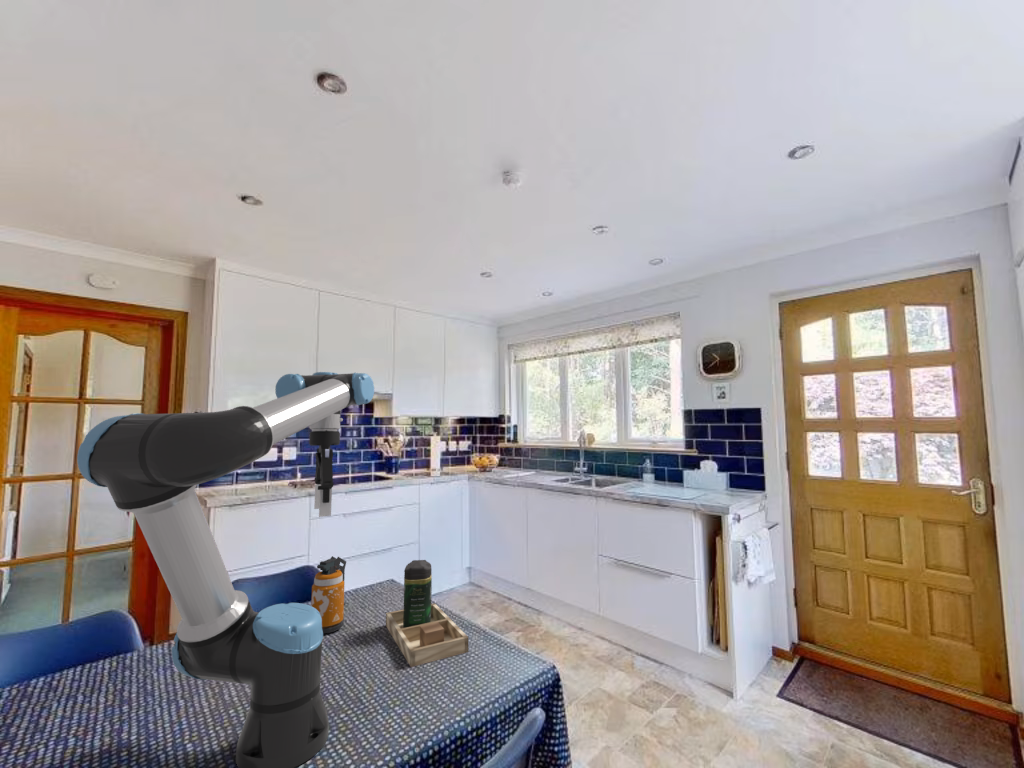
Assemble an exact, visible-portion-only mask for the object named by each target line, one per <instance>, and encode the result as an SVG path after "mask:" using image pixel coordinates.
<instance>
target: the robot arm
mask: <svg viewBox="0 0 1024 768" xmlns="http://www.w3.org/2000/svg"><path fill="white" fill-rule="evenodd" d="M274 391H275V397H276V398H275V399H272V400H269V401H267V402H264V403H262V404H259V405H257V406H254V407H252V406H248V405H241V406H237V407H234V408H230V409H227V410H221V411H211V412H209V411H207V412H181V413H180V412H179V413H176V412H175V413H141V412H140V413H130V414H128V415H127V414H126V415H117V416H113V417H110V418H107V419H105V420H103V421H101V422H99V423H97V424H96V425H95V426H93V427H92V429H90V430H89V431H88V432H87V433H86V435H85V437H84V439H83V441H82V442H81V444H80V445H79V447H78V450H77V457H76V461H77V463H76V464H77V468H78V471H79V472H80V474H81V476H82V477H83V478H84V479H85V480H86V481H87V482H89V483H91V484H93V485H95V486H97V487H102V488H107V490H108V491H109V493H110V495H111V498H112V500H113V502H114V504H115V506H116V508H117V510H120V511H123V512H128V513H132V514H133V515H134V516H135V519H136V521H137V524H138V526H139V528H140V530H141V532H142V534H143V537H144V539H145V541H146V543H147V546H148V548H149V550H150V552H151V554H152V556H153V559H154V561H155V562H156V565H157V567H158V568H159V571H160V574H161V576H162V578H163V580H164V583H165V585H166V587H167V589H168V591H169V593H170V595H171V598H172V600H173V602H174V604H175V606H176V609H177V611H178V613H179V616H180V618H181V620H180V621H179V622H178V624H177V628H176V634H175V636H174V638H173V642H175V644H174V645H173V646H171V659H172V662H173V664H174V666H175V669H176V670H177V671H178V672H179V673H180V674H182V675H184V676H187V677H190V678H192V679H195V680H202V681H207V680H208V681H214V682H215V681H216V682H217V681H219V682H226V683H235V684H244V685H249V686H250V698H249V700H250V701H249V709H248V713H247V715H246V718H245V721H244V724H243V727H242V729H241V731H240V734H239V737H238V740H237V743H236V750H235V764H237V765H236V767H237V766H238V767H239V768H296V767H298V766H300V765H301V764H305V762H307V761H308V760H310V759H311V758H313V757H314V756H315V755H317V754H318V753H319V752H320V751H321V749H322V748H323V747H324V746H325V744H326V743H327V741H328V738H329V733H330V731H329V727H330V721H329V716H328V713H327V710H326V706H325V704H324V700H323V697H322V694H321V693H322V692H321V677H322V676H321V673H322V672H321V671H322V654H323V653H322V650H323V649H322V648H323V638H324V634H323V631H322V618H321V616H320V613H319V611H318V610H317V609H315V608H314V607H312V606H311V605H309V604H306V603H301V602H300V603H299V602H288V603H285V602H283V603H276V604H273V605H269V606H266V607H265V608H263V609H261V610H260V611H254V609H253V607H252V604H251V602H250V600H249V597H248V595H247V594H246V593H245V592H244V591H242V590H239V589H238V590H236V589H235V588H234V585H233V583H232V580H231V578H230V575H229V573H228V570H227V568H226V565H225V562H224V560H223V558H222V555H221V554H220V553H221V552H220V550H219V548H218V545H217V543H216V540H215V537H214V535H213V532H212V531H211V528H210V525H209V523H208V520H207V518H206V515H205V513H204V509H203V508H202V505H201V502H200V500H199V498H198V495H197V493H196V490H195V489H196V488H197V485H200V484H204V483H207V482H210V481H213V480H216V479H218V478H221V477H224V476H225V475H228V474H231V473H233V472H235V471H237V470H238V469H239V470H240V469H241V468H243V467H245V466H247V465H249V464H251V463H254V462H255V461H257V460H259V459H261V458H262V457H264V456H266V455H267V454H268V453H269V452H270V451H271V449H272V448H273V445H275V444H277V443H280V442H281V441H283V440H285V439H288V438H289V437H291V436H292V435H295V434H298V433H299V432H300V431H302V430H305V429H306V428H309V429H310V430H311V431H310V432H309V440H308V441H309V445H310V446H318V448H317V449H316V452H315V475H314V483H315V484H314V508H313V509H314V510H318V517H321V518H322V517H331V516H332V500H333V499H332V496H333V495H332V493H333V487H334V475H333V469H334V468H333V462H334V461H333V459H334V450H333V449H332V448H331V446H338V445H340V443H341V442H340V441H341V432H340V431H338V430H339V429H341V423H342V422H343V420H344V419H343V418H342V417H341V414H342V413H341V412H342V411H341V410H343V409H345V408H348V407H349V406H353V405H357V406H360V405H366V404H369V403H370V402H372V399H373V398H374V394H375V386H374V381H373V379H372V377H371V376H370V375H369V374H368V373H364V372H363V373H362V372H361V373H358V372H351V373H337V372H330V371H317V372H314V373H312V375H310V374H309V375H303V374H302V375H300V374H299V373H295V374H294V373H287V374H284V375H282V376H281V377H280V378H279V379H278V380H277V382H276V383H275V390H274ZM238 767H237V768H238Z"/></svg>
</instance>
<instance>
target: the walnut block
mask: <svg viewBox="0 0 1024 768" xmlns="http://www.w3.org/2000/svg"><path fill="white" fill-rule="evenodd" d="M440 642H444V628H443V627H442V626H441V625H440V624H439V623H438V622H435V623H431V624H426V625H422V626H420V647H423V646H427V645H432V644H436V643H440Z"/></svg>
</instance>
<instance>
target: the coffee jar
mask: <svg viewBox="0 0 1024 768" xmlns="http://www.w3.org/2000/svg"><path fill="white" fill-rule="evenodd" d="M403 573H404V575H403V576H404V578H403V609H404V614H403V628H407V627H411V626H416V625H420V624H425V623H429V622H431V604H432V597H433V596H432V593H433V592H432V588H433V587H432V584H433V583H432V582H433V581H432V579H433V578H432V577H433V576H432V573H433V572H432V564H431V563H430V562H429V561H427V560H426V559H417V560H416V559H413V560H412V561H410V562H408V563H407V564H406V566H405V568H404V571H403Z"/></svg>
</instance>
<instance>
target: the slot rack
mask: <svg viewBox="0 0 1024 768" xmlns="http://www.w3.org/2000/svg"><path fill="white" fill-rule="evenodd" d="M403 614H404V608H403V609H399V610H394V611H389V612H386V613H385V627H386V628H387V630H388V633H390V635H391V636H392V638H393V641H394V643H396V645H397V646H398V649H399V650H400V652H401V653H402V655H403V656H404V658H405V660H406V662H407V663H408V665H409V666H410V668H414V667H417V666H421V665H424V664H428V663H432V662H435V661H439V660H443V659H447V658H450V657H451V658H452V657H454V656H458V655H463V654H465V653H469V636H468V635H467V634H466V633H465V632H464V631H463V630H462V629H461V627H459V626H458V625H457V624H456V623H455V622H454V621H453V620H452V619H451V618H450V617H449V616H448V615H447V614H446V613H445V612H444V611H443V610H442V609H441V608H440V607H439V606H438V605H437V604H436V603H431V622H429V623H425V624H420V625H416V626H411V627H407V628H403ZM435 622H438V623H439V624H440V625H441V626H442V627H443V628H444V642H440V643H436V644H432V645H427V646H423V647H420V626H422V625H426V624H431V623H435Z"/></svg>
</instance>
